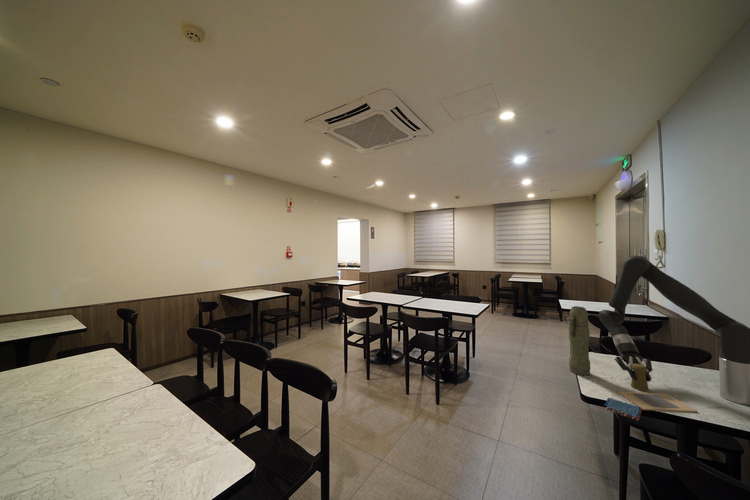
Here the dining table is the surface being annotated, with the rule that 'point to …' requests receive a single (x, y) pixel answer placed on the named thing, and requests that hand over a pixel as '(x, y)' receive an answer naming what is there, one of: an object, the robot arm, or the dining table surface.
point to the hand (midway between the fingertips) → (642, 380)
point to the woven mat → (623, 408)
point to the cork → (640, 377)
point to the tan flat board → (656, 402)
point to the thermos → (579, 341)
